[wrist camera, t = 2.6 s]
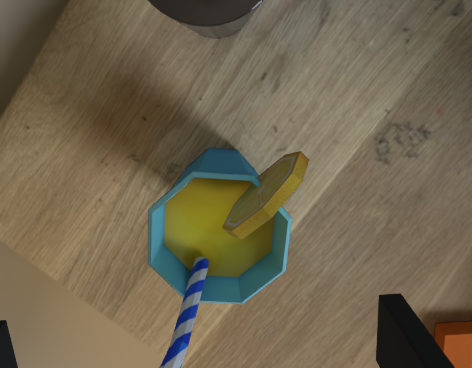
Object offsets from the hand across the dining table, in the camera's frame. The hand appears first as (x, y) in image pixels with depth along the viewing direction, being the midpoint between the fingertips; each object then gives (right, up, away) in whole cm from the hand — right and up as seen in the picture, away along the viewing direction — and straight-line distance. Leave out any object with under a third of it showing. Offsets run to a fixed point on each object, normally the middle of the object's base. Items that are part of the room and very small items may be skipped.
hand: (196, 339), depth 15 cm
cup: (0, +5, +17) cm, 18 cm away
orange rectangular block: (+21, -8, +21) cm, 31 cm away
